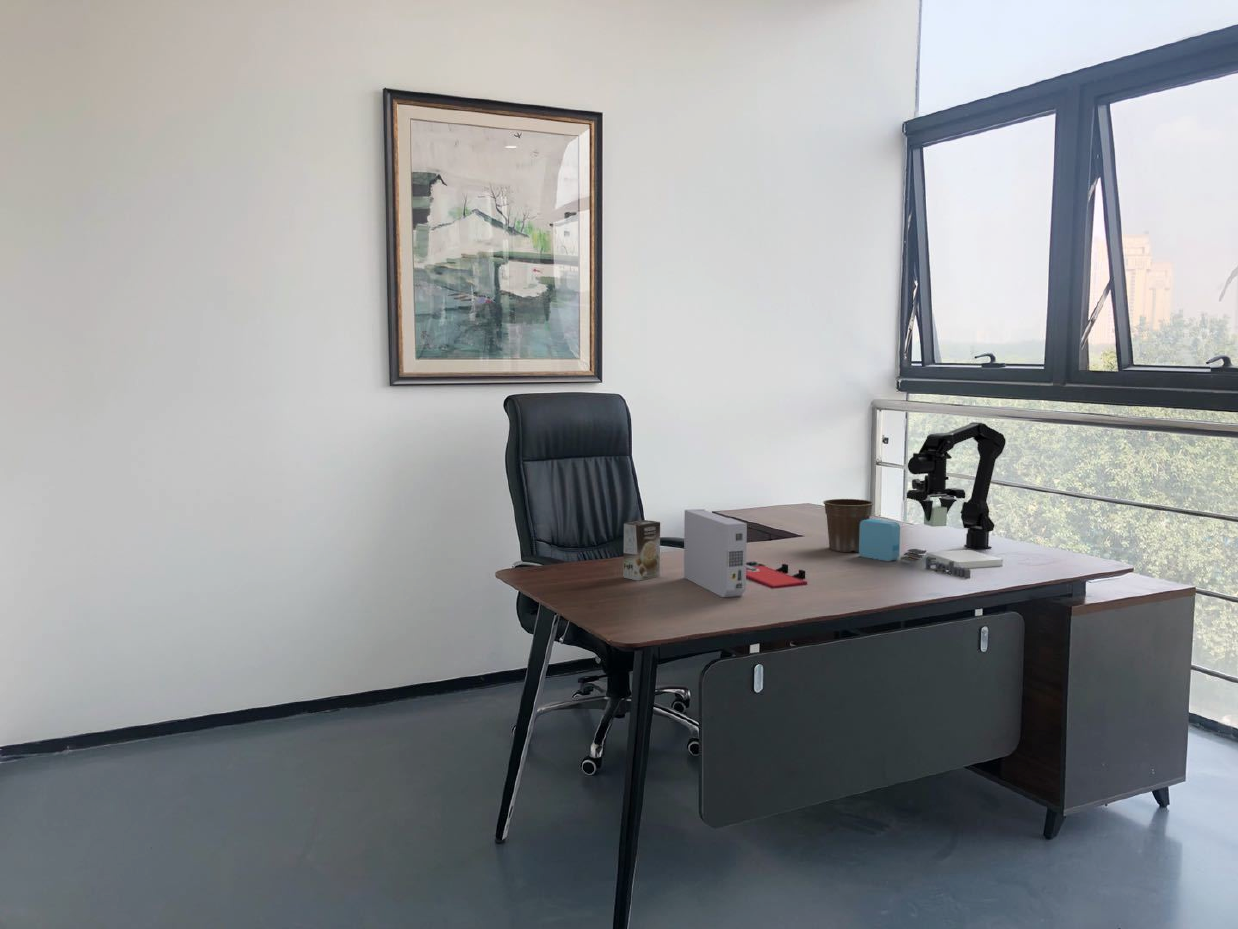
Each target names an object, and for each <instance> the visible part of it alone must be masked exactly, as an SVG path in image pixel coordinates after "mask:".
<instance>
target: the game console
mask: <svg viewBox="0 0 1238 929" xmlns="http://www.w3.org/2000/svg"><path fill="white" fill-rule="evenodd" d="M683 519H684V520H683V521H684V522H683V524H684V529H683V530H684V531H683V532H684V534H683V536H684V537H683V538H684V542H683V543H684V546H683V578H684V579H686V580H688V581H689V582H692V583H694V584H695V585H698V586H700V587H702V588H703V589H706V590H707V591H709V592H712V593H713V594H715V595H718V596H720V597H721V598H732V597H742V596H743V595H744V593H745V591H746V589H747V578H746V562H747V542H748V541H747V533H748V532H747V530H748V526H747V525H748V523H746V522H743V521H740V520H737V519H735V518H734V519H733V518H732V517H726V516H723V515H720V514H717V513H713V512H710V511H708V510H706V509H703V508H702V509H701V508H696V509H695V508H694V509H693V508H692V509H684V518H683Z"/></svg>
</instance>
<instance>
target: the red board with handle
mask: <svg viewBox="0 0 1238 929" xmlns="http://www.w3.org/2000/svg"><path fill="white" fill-rule="evenodd" d="M746 580H749V581H752V582H755V583H757V584H761V585H763V586H766V587H769V588H771V589H780V588H790V587H796V586H805V585H807V586H808V581H806V570H804V569H798V573H796V574H793V575H790V574H789V564H787V563H782V564H781V566H780V567H778V568H776V569H773V568H771V567H768V566H766V565H765V564H762V563H760V562H758V561H754V560H753V561H748V562H747V561H746Z"/></svg>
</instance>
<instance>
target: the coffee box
mask: <svg viewBox="0 0 1238 929" xmlns="http://www.w3.org/2000/svg"><path fill="white" fill-rule="evenodd" d="M660 554H661V521H654V520H647V519H643V520H636V521H629V522H627V521H626V522H624V523H623V565H622V566H623V569H622V570H623V572H622V573H623V578H624V579H629V580H633V581H637V582H638V581H639V582H640V581H643V580H648V579H653V578H657V577H660V576H661V575H660V573H661V572H660V571H661V570H660V568H661V566H660V565H661V561H660V560H661V555H660Z"/></svg>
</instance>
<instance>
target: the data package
mask: <svg viewBox="0 0 1238 929" xmlns="http://www.w3.org/2000/svg"><path fill="white" fill-rule="evenodd" d="M900 542H901V526H900V523H898V522H896V521H889V520H883V519H877V518H876V519H875V518H870V519H867V520H863V521H861V522H860V534H859V552H858V553H859V554H858V555H859V556H860V557H862V558H866V559H871V558H873V559H872V560H877V559H878V560H877V561H883V562H891V561H892V562H893V561H895V560H898V558H899V557H900V546H901V545H900Z"/></svg>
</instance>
